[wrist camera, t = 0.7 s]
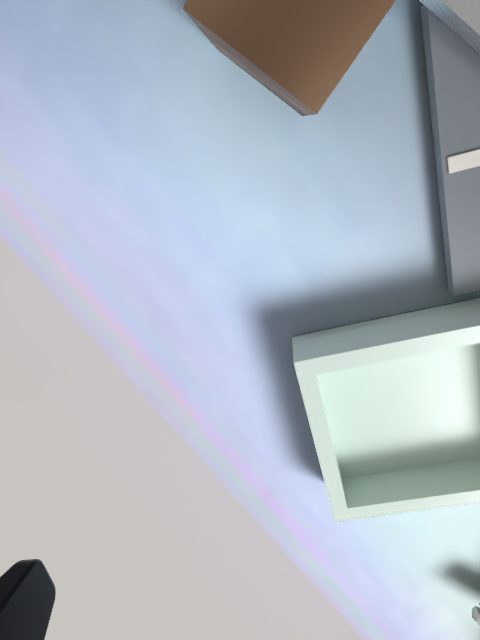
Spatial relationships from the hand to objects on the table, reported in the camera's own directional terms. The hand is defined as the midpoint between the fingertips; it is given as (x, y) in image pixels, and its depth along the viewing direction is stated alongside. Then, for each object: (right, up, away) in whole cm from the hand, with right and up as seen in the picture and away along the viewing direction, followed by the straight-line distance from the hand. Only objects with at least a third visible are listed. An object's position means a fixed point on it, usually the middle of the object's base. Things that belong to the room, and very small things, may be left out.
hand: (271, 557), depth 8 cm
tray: (+8, 0, +14) cm, 16 cm away
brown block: (+1, +15, +8) cm, 17 cm away
